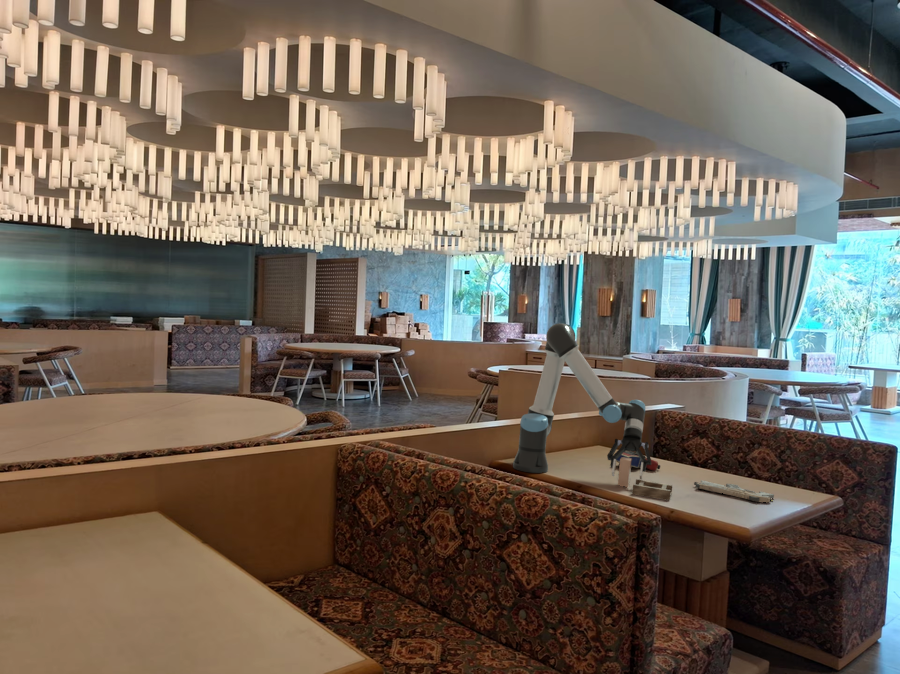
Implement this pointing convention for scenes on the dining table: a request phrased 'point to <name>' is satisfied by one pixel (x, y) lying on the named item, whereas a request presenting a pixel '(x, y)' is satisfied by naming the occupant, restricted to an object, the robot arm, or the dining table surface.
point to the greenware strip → (624, 471)
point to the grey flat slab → (735, 491)
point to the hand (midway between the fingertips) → (626, 475)
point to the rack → (652, 489)
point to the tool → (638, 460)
